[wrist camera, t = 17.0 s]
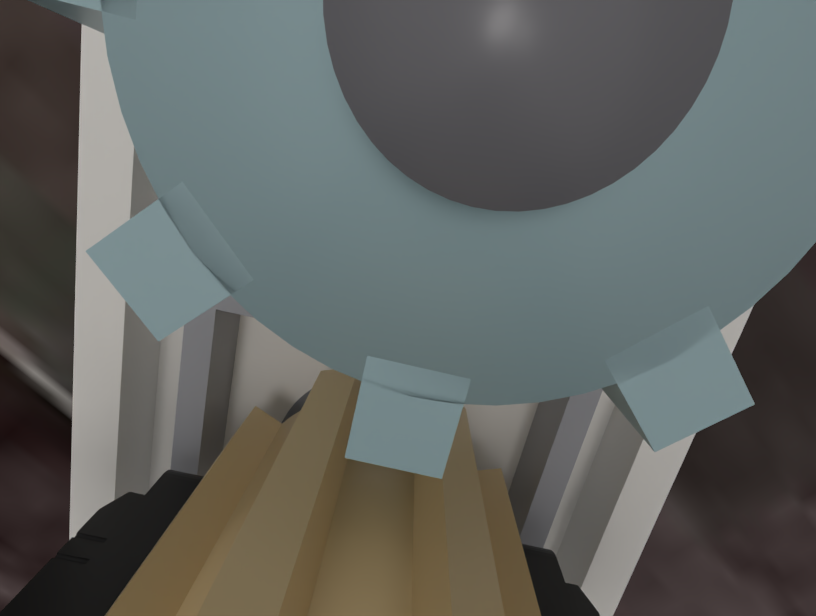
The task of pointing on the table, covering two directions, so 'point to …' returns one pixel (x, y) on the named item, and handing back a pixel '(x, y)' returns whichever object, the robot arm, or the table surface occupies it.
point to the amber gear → (334, 529)
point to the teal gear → (470, 193)
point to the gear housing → (292, 382)
